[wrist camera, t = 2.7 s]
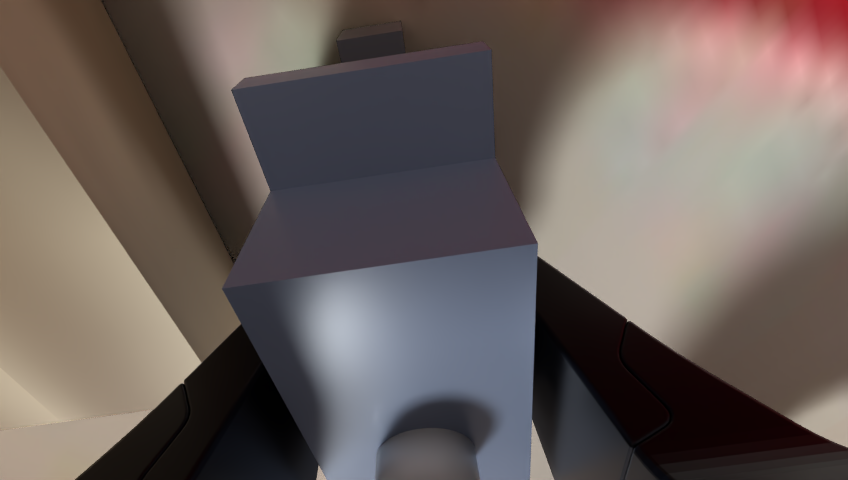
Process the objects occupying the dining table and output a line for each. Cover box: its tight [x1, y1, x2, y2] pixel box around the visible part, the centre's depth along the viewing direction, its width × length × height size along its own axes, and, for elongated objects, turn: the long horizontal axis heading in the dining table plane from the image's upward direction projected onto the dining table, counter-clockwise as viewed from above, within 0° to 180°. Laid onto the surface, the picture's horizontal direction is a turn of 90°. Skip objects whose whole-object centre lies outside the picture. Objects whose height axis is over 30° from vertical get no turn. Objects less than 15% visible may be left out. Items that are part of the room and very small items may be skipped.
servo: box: [222, 21, 538, 480], centre depth 8 cm, size 3×8×7 cm, turn 8°
